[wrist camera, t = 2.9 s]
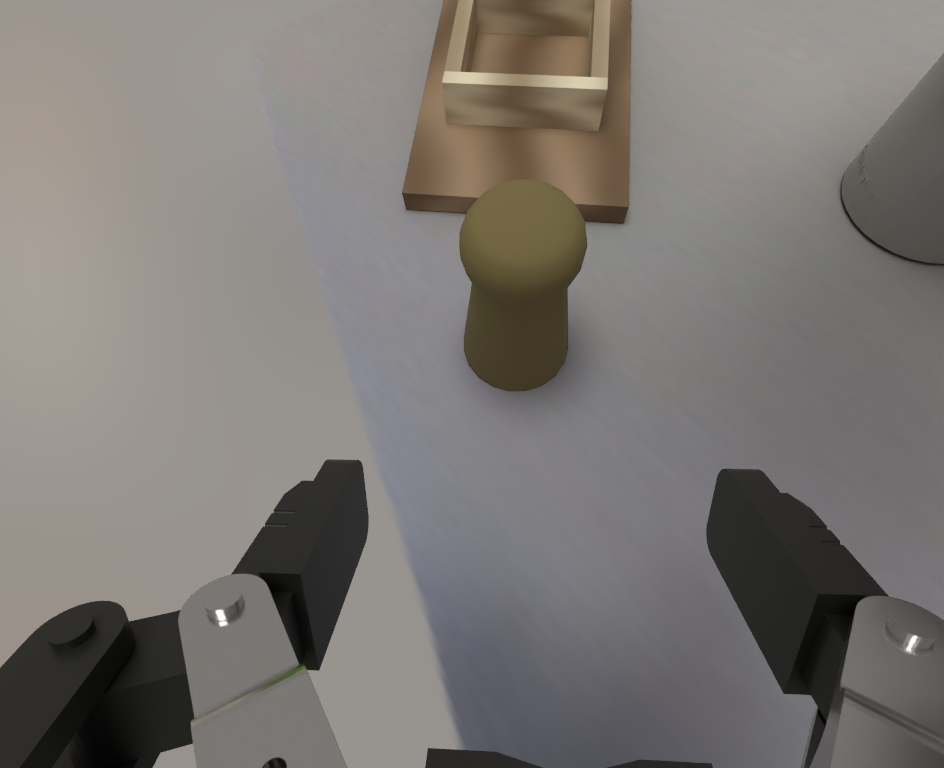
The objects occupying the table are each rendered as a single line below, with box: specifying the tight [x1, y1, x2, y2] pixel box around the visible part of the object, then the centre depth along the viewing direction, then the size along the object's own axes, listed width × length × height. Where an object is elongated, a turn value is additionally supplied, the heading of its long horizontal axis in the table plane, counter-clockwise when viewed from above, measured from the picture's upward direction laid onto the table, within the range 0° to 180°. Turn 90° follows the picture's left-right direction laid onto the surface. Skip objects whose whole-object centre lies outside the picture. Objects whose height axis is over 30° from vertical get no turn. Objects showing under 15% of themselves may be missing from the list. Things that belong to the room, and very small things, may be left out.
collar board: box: [402, 0, 631, 223], centre depth 35 cm, size 14×22×4 cm, turn 173°
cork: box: [460, 179, 587, 391], centre depth 24 cm, size 6×6×11 cm
